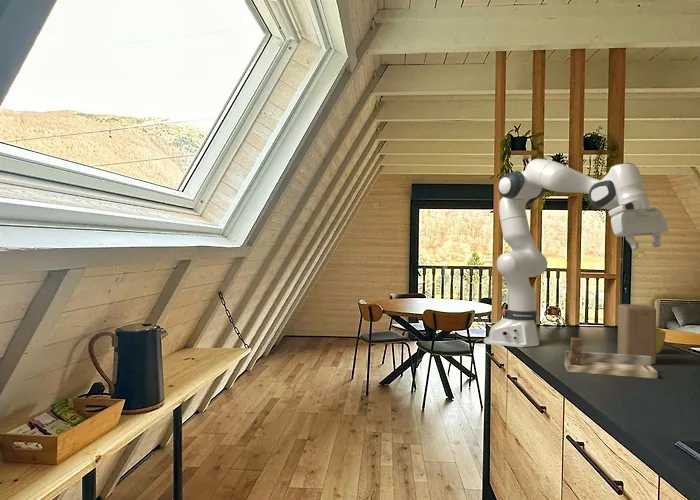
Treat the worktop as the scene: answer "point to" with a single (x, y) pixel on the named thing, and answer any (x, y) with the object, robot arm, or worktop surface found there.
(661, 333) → the flower pot
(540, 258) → the robot arm
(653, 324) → the wooden block
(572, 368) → the board
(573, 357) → the marking gauge
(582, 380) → the worktop surface
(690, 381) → the worktop surface
